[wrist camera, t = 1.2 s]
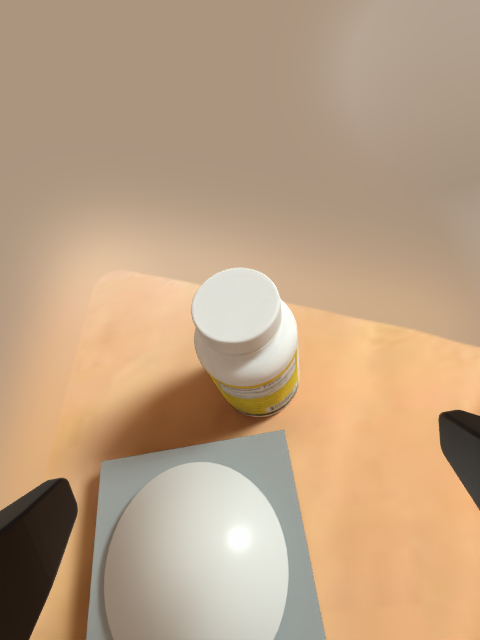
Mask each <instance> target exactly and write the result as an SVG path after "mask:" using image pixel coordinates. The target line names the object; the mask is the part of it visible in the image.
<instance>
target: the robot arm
mask: <svg viewBox="0 0 480 640" xmlns="http://www.w3.org/2000/svg"><path fill="white" fill-rule="evenodd" d="M439 433H440V445H441V449H442V452H443V454H444V455H445V457H446V459H447V460H448V462H449V463H450V465H451V466H452V468H453V470H454V471H455V473H456V474H457V476H458V477H459V479H460V480H461V482H462V484H463V485H464V487H465V488H466V490H467V491H468V493H469V494H470V496H471V498H472V499H473V501H474V502H475V504H476V505H477V507H478V508H479V510H480V416H478V415H475V414H472V413H468V412H465V411H462V410H453V411H447V412H442V413H441V414H440V415H439ZM77 512H78V507H77V503H76V500H75V497H74V495H73V492H72V490H71V487H70V484H69V482H68V480H67V479H65V478H58V479H52V480H48V481H46V482H44V483H42V484H41V485H40V486H38V487H36V488H35V489H33V490H32V491H30V492H29V493H27V494H26V495H24V496H23V497H21V498H20V499H18V500H17V501H15V502H13V503H12V504H10V505H9V506H7V507H6V508H4V509H3V510H1V511H0V640H29V639H30V636H31V634H32V632H33V629H34V627H35V625H36V623H37V620H38V618H39V616H40V613H41V611H42V609H43V607H44V604H45V602H46V600H47V597H48V595H49V593H50V590H51V588H52V585H53V583H54V580H55V577H56V575H57V572H58V569H59V566H60V563H61V560H62V557H63V554H64V552H65V549H66V546H67V543H68V540H69V537H70V534H71V531H72V528H73V526H74V523H75V520H76V517H77Z"/></svg>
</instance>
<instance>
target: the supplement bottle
mask: <svg viewBox="0 0 480 640" xmlns="http://www.w3.org/2000/svg"><path fill="white" fill-rule="evenodd" d="M191 314H192V319H193V322H194V324H195V326H196V329H195V335H194V345H195V350H196V354H197V356H198V358H199V360H200V362H201V364H202V366H203V367H204V369H205V370H206V372H207V373H208V374H209V376H210V377H211V379H212V380H213V382H214V383H215V385H216V386H217V388H218V389H219V390H220V392H221V393H222V395H223V396H224V398H225V399H226V400H227V402H228V403H229V404H230V405H231V406H232V407H233V408H234V409H236V410H237V411H239V412H241V413H243V414H245V415H248V416H253V417H266V416H270V415H273V414H276V413H278V412H280V411H281V410H283V409H284V408H285V407H286V406H287V405H288V404H289V403H290V402H291V401H292V399H293V398H294V396H295V394H296V392H297V389H298V385H299V357H298V332H297V325H296V321H295V318H294V316H293V314H292V312H291V310H290V309H289V307H288V306H287V305H286V304H285V303H284V302H283V301H282V300H281V299H280V296H279V293H278V290H277V288H276V286H275V285H274V283H273V282H272V281H271V280H270V279H269V278H268V277H267V276H266V275H264V274H263V273H261V272H259V271H256V270H253V269H248V268H232V269H227V270H224V271H221V272H219V273H217V274H215V275H213V276H211V277H210V278H209V279H207V280H206V281H205V282H204V283H203V284H202V285H201V286H200V288H199V289H198V290H197V292H196V294H195V296H194V298H193V302H192V307H191Z"/></svg>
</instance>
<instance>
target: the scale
mask: <svg viewBox="0 0 480 640" xmlns="http://www.w3.org/2000/svg"><path fill="white" fill-rule="evenodd" d="M86 640H326V637H325V632H324V627H323V622H322V617H321V612H320V607H319V602H318V597H317V592H316V587H315V582H314V577H313V572H312V567H311V562H310V557H309V552H308V547H307V542H306V537H305V532H304V527H303V522H302V517H301V512H300V507H299V502H298V497H297V492H296V487H295V482H294V477H293V471H292V466H291V461H290V456H289V451H288V446H287V441H286V436H285V431H284V430H280V431H274V432H268V433H263V434H257V435H251V436H245V437H240V438H234V439H228V440H222V441H217V442H211V443H205V444H199V445H193V446H188V447H182V448H176V449H170V450H165V451H159V452H153V453H147V454H142V455H136V456H130V457H124V458H119V459H113V460H107V461H101V472H100V483H99V495H98V507H97V518H96V530H95V542H94V554H93V565H92V577H91V589H90V600H89V612H88V624H87V636H86Z"/></svg>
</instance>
